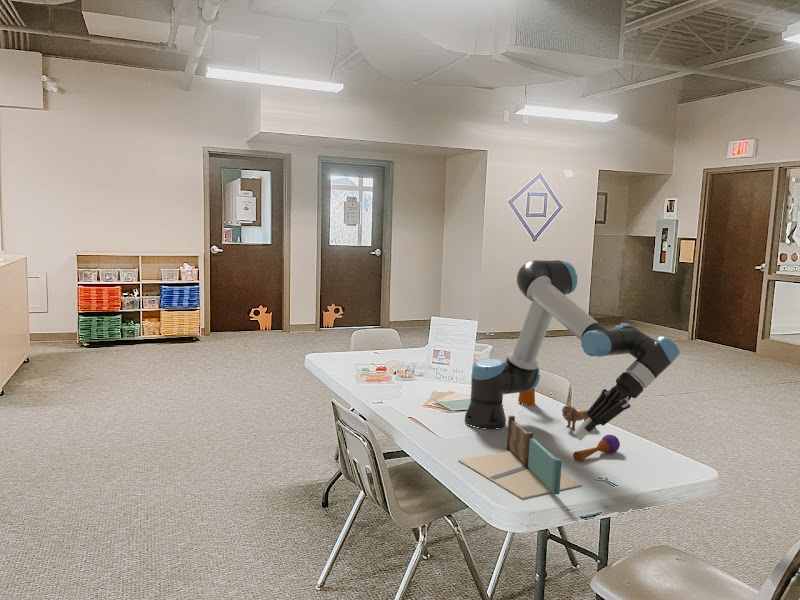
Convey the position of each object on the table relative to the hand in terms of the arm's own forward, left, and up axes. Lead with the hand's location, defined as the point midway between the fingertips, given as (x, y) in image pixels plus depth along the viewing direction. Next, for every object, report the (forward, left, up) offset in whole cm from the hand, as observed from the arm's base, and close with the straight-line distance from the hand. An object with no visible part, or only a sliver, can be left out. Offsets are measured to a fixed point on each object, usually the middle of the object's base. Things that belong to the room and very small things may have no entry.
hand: (576, 436), depth 184 cm
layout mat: (-16, -4, -13) cm, 21 cm away
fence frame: (-19, +9, -13) cm, 24 cm away
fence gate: (-7, -7, -12) cm, 16 cm away
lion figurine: (-8, +51, -13) cm, 53 cm away
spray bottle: (-34, +72, -13) cm, 81 cm away
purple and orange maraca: (+3, +25, -13) cm, 29 cm away
